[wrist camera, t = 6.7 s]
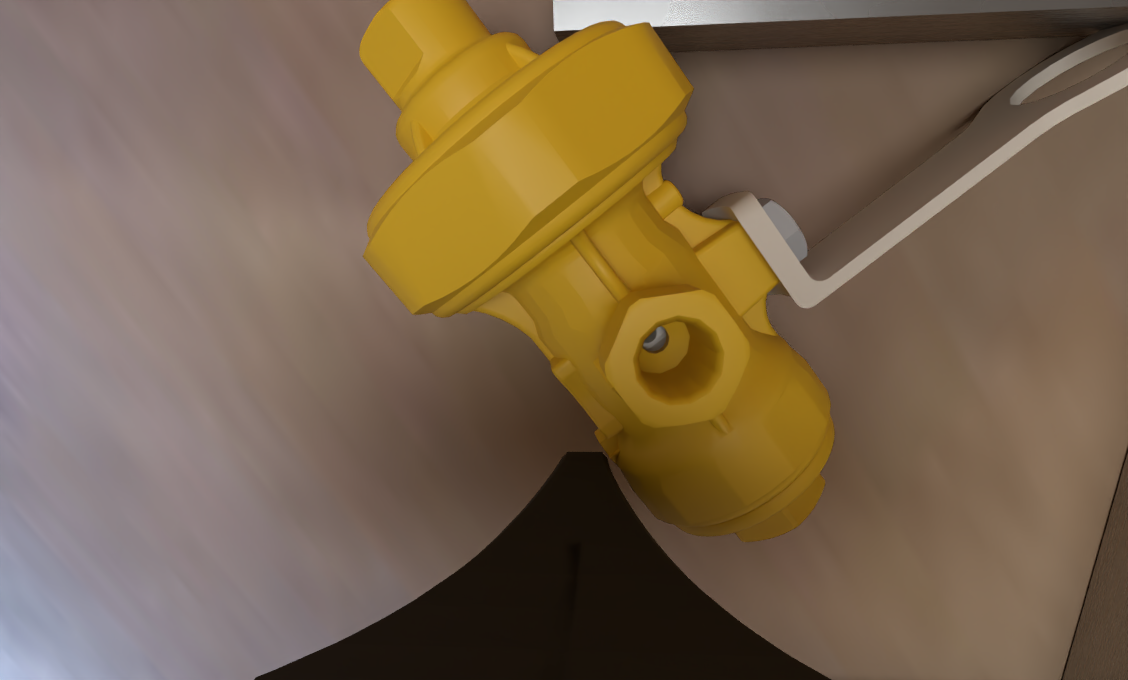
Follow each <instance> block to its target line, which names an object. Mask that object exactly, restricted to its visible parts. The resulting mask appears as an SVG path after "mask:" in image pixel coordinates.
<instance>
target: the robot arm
mask: <svg viewBox="0 0 1128 680" xmlns="http://www.w3.org/2000/svg"><path fill="white" fill-rule="evenodd" d="M254 680H831V679H829V678H827V677H826V676H824V675H822V674H820V673H819V672H817V671H815V670H813V669H812V668H810V667H808V666H806V665H805V664H803V663H801V662H799V661H798V660H796V659H794V658H792V657H791V656H789V655H788V654H786V653H784V652H783V651H781V650H780V649H778V648H777V647H775V646H774V645H773V644H771V643H770V642H768V641H767V640H765V639H764V638H762V637H761V636H759V635H758V634H756V633H755V632H754V631H752V630H751V629H749V628H748V627H746V626H745V625H744V624H742V623H741V622H740V621H738V620H737V619H736V618H734V617H733V616H732V615H731V614H729V613H728V612H727V611H726V610H724V609H723V608H722V607H721V606H720V605H718V604H717V603H716V602H715V601H714V600H712V599H711V598H710V597H709V596H708V595H706V594H705V593H704V592H703V591H702V590H701V589H699V588H698V587H697V586H696V585H695V584H694V583H693V582H692V581H691V580H690V579H689V578H688V577H687V576H686V575H685V574H684V573H683V572H682V571H681V570H680V569H679V568H678V567H677V566H676V564H675V563H674V562H673V561H672V560H671V559H670V558H669V557H668V556H667V554H666V553H665V552H664V551H663V550H662V549H661V547H660V546H659V545H658V544H657V543H656V541H655V540H654V539H653V537H652V536H651V535H650V533H649V532H648V531H647V530H646V528H645V527H644V526H643V524H642V523H641V521H640V520H639V518H638V517H637V516H636V514H635V512H634V511H633V509H632V508H631V506H630V505H629V503H628V501H627V500H626V498H625V497H624V495H623V493H622V491H621V490H620V488H619V486H618V484H617V482H616V480H615V478H614V476H613V474H612V472H611V469H610V467H609V464H608V459H607V457H606V456H605V455H604V454H603V453H602V452H567V453H566V455H565V456H563V457H562V459H561V460H560V462H559V464H558V465H557V467H556V468H555V470H554V471H553V473H552V474H551V475H550V477H549V478H548V479H547V481H546V482H545V483H544V485H543V486H542V487H541V489H540V490H539V491H538V492H537V493H536V495H535V496H534V497H533V498H532V500H531V501H530V502H529V503H528V504H527V506H526V507H525V508H524V509H523V510H522V511H521V513H520V514H519V515H518V516H517V517H516V518H515V519H514V520H513V521H512V522H511V523H510V524H509V525H508V526H507V527H506V528H505V529H504V530H503V531H502V532H501V533H500V534H499V535H498V537H496V538H495V539H494V540H493V541H492V542H491V543H490V544H489V545H488V546H487V547H486V548H485V549H484V550H482V551H481V552H480V553H479V554H478V555H477V556H476V557H474V558H473V559H472V560H471V561H470V562H468V563H467V564H466V565H465V566H463V567H462V568H461V569H459V570H458V571H457V572H455V573H454V574H452V575H451V576H449V577H448V578H446V579H445V580H443V581H442V582H441V583H439V584H438V585H436V586H435V587H433V588H432V589H430V590H429V591H427V592H426V593H424V594H423V595H421V596H420V597H418V598H417V599H416V600H414V601H412V602H411V603H409V604H407V605H406V606H404V607H402V608H401V609H399V610H397V611H395V612H394V613H392V614H390V615H389V616H387V617H385V618H383V619H381V620H380V621H378V622H376V623H374V624H372V625H370V626H368V627H366V628H365V629H363V630H361V631H359V632H357V633H355V634H353V635H351V636H349V637H347V638H345V639H343V640H341V641H339V642H337V643H335V644H333V645H330V646H328V647H326V648H323V649H321V650H319V651H317V652H314V653H312V654H310V655H308V656H305V657H303V658H301V659H298V660H296V661H294V662H292V663H289V664H287V665H285V666H283V667H280V668H278V669H276V670H273V671H271V672H268V673H266V674H263V675H261V676H258V677H256V678H255V679H254Z"/></svg>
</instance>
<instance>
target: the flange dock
mask: <svg viewBox="0 0 1128 680" xmlns="http://www.w3.org/2000/svg"><path fill="white" fill-rule="evenodd" d="M553 12H554V32H555V34H556V36H557V39H558V41H559V42H561V41H563V40H564V39H566V38H568V37H569V36H571V35H573V34H574V33H576V32H578V31H580V30H582V29H584V28H586V27H588V26H590V25H593V24H596V23H599V22H603V21H612V20H615V21H618V22H621V23H622V24H624V25H625V26H628V25H633V24H638V23H643V22H649V23H650V25H651V26H652V27H653V29H654V30H655V32H656V33H657V35H658V36H659V38H660V39H661V41H662V42H663V44H664V45H665V47H666V48H667V50H668V51H669V52H686V51H711V50H736V49H761V48H787V47H812V46H837V45H862V44H888V43H913V42H938V41H963V40H988V39H1014V38H1039V37H1064V36H1089V35H1092V34H1094V33H1096V32H1098V31H1100V30H1104V29H1108V28H1112V27H1116V26H1120V25H1124V24H1128V0H553ZM1063 680H1128V453H1127V457H1126V460H1125V464H1124V467H1123V471H1122V474H1121V478H1120V481H1119V485H1118V488H1117V492H1116V495H1115V499H1114V502H1113V505H1112V509H1111V512H1110V516H1109V519H1108V523H1107V526H1106V530H1105V533H1104V537H1103V540H1102V544H1101V547H1100V551H1099V554H1098V558H1097V561H1096V565H1095V568H1094V572H1093V575H1092V579H1091V582H1090V586H1089V589H1088V593H1087V596H1086V600H1085V603H1084V607H1083V610H1082V614H1081V617H1080V621H1079V624H1078V628H1077V631H1076V635H1075V638H1074V642H1073V645H1072V649H1071V652H1070V656H1069V659H1068V663H1067V666H1066V669H1065V673H1064V676H1063Z"/></svg>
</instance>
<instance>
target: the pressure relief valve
mask: <svg viewBox="0 0 1128 680" xmlns="http://www.w3.org/2000/svg"><path fill="white" fill-rule="evenodd" d="M1126 43H1128V24H1124V25H1120V26H1116V27H1112V28H1108V29H1104V30H1100V31H1098V32H1096V33H1094V34H1092V35H1090V36H1088V37H1086V38H1084V39H1082V40H1080V41H1078V42H1077V43H1075V44H1073V45H1071V46H1069V47H1067V48H1065V49H1063V50H1062V51H1060V52H1058V53H1057V54H1055V55H1053V56H1051V57H1050V58H1048V59H1046V60H1045V61H1043V62H1041V63H1040V64H1038V65H1036V66H1035V67H1033V68H1032V69H1030V70H1029V71H1027V72H1026V73H1024V74H1023V75H1021V76H1020V77H1018V78H1017V79H1015V80H1014V81H1013V82H1011V83H1010V84H1009V85H1007V86H1006V87H1005V88H1003V89H1002V90H1001V91H999V92H998V93H997V94H996V95H995V96H994V97H992V98H991V99H990V100H989V101H988V102H987V103H986V104H985V105H984V106H983V107H982V109H981V110H980V111H979V113H978V114H977V116H976V117H975V119H974V120H973V122H972V123H971V124H970V125H969V126H968V127H967V128H966V129H965V130H964V131H963V132H962V133H961V134H960V135H958V136H957V137H956V138H955V139H954V140H952V141H951V142H950V143H948V144H947V145H946V146H944V147H943V148H942V149H941V150H939V151H938V152H937V153H935V154H934V155H933V156H931V157H930V158H929V159H928V160H926V161H925V162H924V163H922V164H921V165H920V166H918V167H917V168H916V169H914V170H913V171H912V172H911V173H909V174H908V175H907V176H905V177H904V178H903V179H901V180H900V181H899V182H897V183H896V184H895V185H894V186H892V187H891V188H890V189H888V190H887V191H886V192H884V193H883V194H882V195H881V196H879V197H878V198H877V199H875V200H874V201H873V202H871V203H870V204H869V205H867V206H866V207H865V208H864V209H862V210H861V211H860V212H858V213H857V214H856V215H854V216H853V217H852V218H850V219H849V220H848V221H847V222H845V223H844V224H843V225H841V226H840V227H839V228H837V229H836V230H835V231H834V232H832V233H831V234H830V235H828V236H827V237H826V238H824V239H823V240H822V241H820V242H819V243H818V244H817V245H815V246H814V247H813V248H811V249H810V250H809V251H807V243H806V240H805V237H804V235H803V233H802V231H801V229H800V228H799V226H798V225H797V223H796V222H795V221H794V219H793V218H792V217H791V216H790V215H789V214H788V212H787V211H785V210H784V209H783V208H782V207H781V206H780V205H779V204H777V203H776V202H774V201H773V200H771V199H768V198H762V199H756V198H755V197H754V195H753V194H752V193H751V192H749V191H743V192H736V193H732V194H729V195H726V196H723V197H721V198H720V199H719V200H717V201H716V202H715V203H713V204H712V205H711V206H710V207H708V208H707V209H706V210H705V211H703V212H702V216H703V217H702V216H700V215H698V214H695V213H693V212H691V211H689V210H688V209H686V208H685V207H684V206H682V204H683V198H682V196H681V194H680V192H679V191H678V189H677V188H676V187H675V186H674V185H673V184H672V183H671V182H670V181H668V180H664V181H663V178H662V174H661V163H662V162H663V161H664V160H665V159H666V158H667V157H668V156H669V155H670V154H671V153H672V152H673V151H674V150H675V148H676V143H677V137H678V136H679V135H680V134H681V133H682V132H683V130H684V129H685V127H686V124H687V116H686V113H685V108H686V106H687V104H688V101H689V99H690V97H691V94H692V92H693V90H694V88H693V86H692V85H691V83H690V82H689V80H688V79H687V78H686V76H685V75H684V73H683V72H682V70H681V69H680V67H679V66H678V64H677V63H676V61H675V60H674V58H673V57H672V55H671V54H670V52H669V51H668V50H667V48H666V47H665V45H664V44H663V42H662V41H661V39H660V38H659V36H658V35H657V33H656V32H655V30H654V29H653V27H652V26H651V25H650V23H649V22H643V23H638V24H633V25H628V26H625V25H624V24H622V23H621V22H618V21H615V20H612V21H603V22H599V23H596V24H593V25H590V26H588V27H586V28H584V29H582V30H580V31H578V32H576V33H574V34H573V35H571V36H569V37H568V38H566V39H564V40H563V41H561V42H559V43H557V44H556V45H554V46H553V47H551V48H550V49H548V50H547V51H545V52H544V53H542V54H541V55H538V54H536V53H534V52H532V51H531V49H530V48H529V47H528V45H527V44H526V42H525V41H524V40H523V39H522V38H521V37H520V36H518V35H517V34H515V33H510V32H500V33H497V34H494V35H491V34H490V33H489V31H488V30H487V28H486V27H485V26H484V24H483V23H482V22H481V20H480V19H479V18H478V16H477V15H476V14H475V12H474V11H473V10H472V8H471V7H470V6H469V4H468V3H467V1H466V0H390V1H389V2H387V3H386V4H385V5H384V6H383V7H382V8H381V10H380V11H379V12H377V14H376V15H375V17H374V18H373V20H372V22H371V23H370V25H369V27H368V29H367V31H366V32H365V34H364V36H363V39H362V41H361V44H360V49H359V51H360V58H361V60H362V62H363V63H364V65H365V66H366V67H367V69H368V70H369V71H370V72H371V74H372V75H373V76H374V77H375V79H376V80H377V81H378V82H379V84H380V85H381V86H382V87H383V89H384V90H385V91H386V93H387V94H388V95H389V96H390V98H391V99H392V100H393V101H394V103H395V104H396V105H397V106H398V108H399V109H400V110H401V112H402V113H401V115H400V117H399V119H398V121H397V124H396V137H397V140H398V142H399V144H400V145H401V147H402V148H403V149H404V150H405V151H406V153H407V154H408V155H409V156H410V158H411V159H412V160H413V162H412V163H411V164H410V165H409V166H408V167H407V168H406V169H405V170H404V171H403V172H402V174H401V175H400V176H399V177H398V178H397V179H396V180H395V181H394V183H393V184H392V185H391V186H390V187H389V188H388V190H387V191H386V192H385V193H384V195H383V196H382V197H381V199H380V200H379V201H378V203H377V204H376V206H375V207H374V209H373V211H372V213H371V215H370V217H369V220H368V223H367V233H368V237H369V238H370V240H369V242H368V245H367V247H366V250H365V252H364V255H363V257H364V259H365V260H366V261H367V262H368V263H369V264H370V266H371V267H372V268H373V269H374V270H375V271H376V273H377V274H378V275H379V276H380V277H381V278H382V280H383V281H384V282H385V283H386V284H387V285H388V287H389V288H390V289H391V290H392V291H393V292H394V294H395V295H396V296H397V297H398V298H399V299H400V301H401V302H402V303H403V304H404V305H405V306H406V308H407V309H408V310H409V311H410V312H411V313H412V315H421V314H427V313H433V314H434V315H435V316H437V317H441V318H444V317H450V316H452V315H454V314H455V313H460V314H467V313H469V312H472V311H477V312H481V313H486V314H488V315H491V316H494V317H496V318H499V319H502V320H504V321H506V322H507V323H509V324H511V325H513V326H515V327H517V328H518V329H520V330H521V331H522V332H524V333H525V334H526V335H528V336H529V337H530V338H531V339H532V340H533V341H534V342H535V344H536V345H537V346H538V347H539V349H540V350H541V351H542V352H543V354H544V355H545V356H546V357H547V358H548V360H549V361H550V364H551V370H552V372H553V374H554V375H555V376H556V378H557V379H558V380H559V381H560V382H561V383H562V384H563V385H564V386H565V387H566V388H567V390H568V391H569V392H570V393H571V394H572V395H573V396H574V398H575V399H576V400H577V401H578V402H579V404H580V405H581V406H582V407H583V409H584V410H585V411H586V412H587V414H588V415H589V416H590V418H591V419H592V420H593V422H594V423H595V424H596V426H597V427H598V429H597V430H596V431H595V432H594V433H595V435H596V438H597V439H598V441H599V443H600V444H601V446H602V447H603V449H604V450H605V451H606V453H607V454H608V456H609V458H610V459H611V460H612V461H613V462H614V463H616V464H617V465H618V467H619V468H620V469H621V471H622V473H623V474H624V476H625V478H626V479H627V481H628V483H629V484H630V486H631V488H632V489H633V491H634V492H635V493H636V494H637V495H638V497H639V498H640V499H641V500H642V501H643V503H644V504H645V505H646V506H647V507H648V509H649V510H650V511H651V512H652V514H653V515H654V516H655V517H656V518H657V519H659V520H662V521H664V522H667V523H669V524H674V525H676V526H677V527H678V528H680V529H681V530H683V531H685V532H687V533H689V534H692V535H697V536H721V535H726V534H731V533H736V535H737V536H738V537H739V538H740V540H741V541H742V542H753V541H761V540H765V539H770V538H774V537H776V536H779V535H782V534H785V533H787V532H789V531H791V530H793V529H795V528H796V527H797V526H799V525H800V524H801V523H802V522H803V521H804V520H805V519H806V518H807V517H808V515H809V514H810V513H811V511H812V510H813V509H814V507H815V505H816V503H817V502H818V500H819V498H820V496H821V494H822V491H823V489H824V486H825V480H824V478H823V477H822V476H821V474H820V472H821V470H822V469H823V467H824V465H825V463H826V461H827V459H828V457H829V455H830V452H831V450H832V447H833V443H834V435H835V433H834V425H833V421H832V418H831V416H830V407H831V403H830V399H829V395H828V391H827V390H826V388H825V387H824V386H823V384H822V383H821V381H820V380H819V378H818V377H817V376H816V374H815V373H814V371H813V370H812V369H811V367H810V366H809V364H808V363H807V362H806V360H805V359H804V358H803V357H802V356H800V355H799V354H798V353H797V352H796V351H795V350H794V349H792V348H791V347H790V346H789V345H788V344H787V342H786V341H785V340H784V339H783V338H782V337H780V336H779V335H778V334H777V333H776V332H775V330H774V329H773V328H772V327H771V324H770V322H769V319H768V317H767V311H766V297H767V295H776V294H782V295H787V296H790V297H792V298H793V300H794V301H795V303H796V304H797V305H798V306H800V307H802V308H811V307H813V306H815V305H817V304H818V303H819V302H820V301H822V300H823V299H824V298H826V297H827V296H828V295H830V294H831V293H832V292H834V291H835V290H836V289H838V288H839V287H840V286H842V285H843V284H844V283H846V282H847V281H848V280H850V279H851V278H852V277H854V276H855V275H856V274H857V273H859V272H860V271H861V270H863V269H864V268H865V267H867V266H868V265H869V264H871V263H872V262H873V261H875V260H876V259H877V258H879V257H880V256H881V255H883V254H884V253H885V252H887V251H888V250H889V249H890V248H892V247H893V246H894V245H896V244H897V243H898V242H900V241H901V240H902V239H904V238H905V237H906V236H908V235H909V234H910V233H912V232H913V231H914V230H916V229H917V228H918V227H920V226H921V225H922V224H924V223H925V222H926V221H927V220H929V219H930V218H931V217H933V216H934V215H935V214H937V213H938V212H939V211H941V210H942V209H943V208H945V207H946V206H947V205H949V204H950V203H951V202H953V201H954V200H955V199H957V198H958V197H959V196H960V195H962V194H963V193H964V192H966V191H967V190H968V189H970V188H971V187H972V186H974V185H975V184H976V183H978V182H979V181H980V180H982V179H983V178H984V177H986V176H987V175H988V174H990V173H991V172H992V171H994V170H995V169H996V168H997V167H999V166H1000V165H1001V164H1003V163H1004V162H1005V161H1007V160H1008V159H1009V158H1011V157H1012V156H1013V155H1015V154H1016V153H1017V152H1019V151H1020V150H1021V149H1023V148H1024V147H1025V146H1027V145H1028V144H1029V143H1031V142H1032V141H1033V140H1034V139H1036V138H1037V137H1038V136H1040V135H1041V134H1043V133H1044V132H1046V131H1047V130H1049V129H1050V128H1051V127H1053V126H1054V125H1056V124H1058V123H1059V122H1061V121H1063V120H1064V119H1066V118H1068V117H1069V116H1071V115H1073V114H1075V113H1076V112H1078V111H1080V110H1082V109H1084V108H1086V107H1088V106H1090V105H1092V104H1094V103H1095V102H1097V101H1099V100H1101V99H1103V98H1105V97H1107V96H1109V95H1111V94H1112V93H1114V92H1116V91H1118V90H1120V89H1122V88H1124V87H1126V86H1127V85H1128V54H1126V55H1125V56H1123V57H1122V58H1120V59H1119V60H1118V61H1116V62H1115V63H1113V64H1112V65H1110V66H1108V67H1107V68H1105V69H1103V70H1101V71H1100V72H1098V73H1096V74H1095V75H1093V76H1091V77H1089V78H1088V79H1086V80H1084V81H1082V82H1080V83H1078V84H1076V85H1073V86H1071V87H1069V88H1067V89H1065V90H1063V91H1061V92H1059V93H1056V94H1054V95H1051V96H1049V97H1046V98H1043V99H1041V100H1038V101H1035V102H1031V103H1027V104H1023V105H1020V104H1021V102H1022V101H1023V100H1024V99H1025V98H1027V97H1028V96H1029V95H1030V94H1031V93H1033V92H1034V91H1035V90H1036V89H1038V88H1039V87H1041V86H1042V85H1044V84H1045V83H1047V82H1048V81H1050V80H1051V79H1053V78H1054V77H1056V76H1057V75H1059V74H1061V73H1063V72H1065V71H1066V70H1068V69H1070V68H1072V67H1074V66H1076V65H1077V64H1079V63H1081V62H1083V61H1085V60H1087V59H1090V58H1092V57H1094V56H1096V55H1098V54H1100V53H1102V52H1105V51H1107V50H1110V49H1113V48H1115V47H1118V46H1121V45H1124V44H1126Z"/></svg>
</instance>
